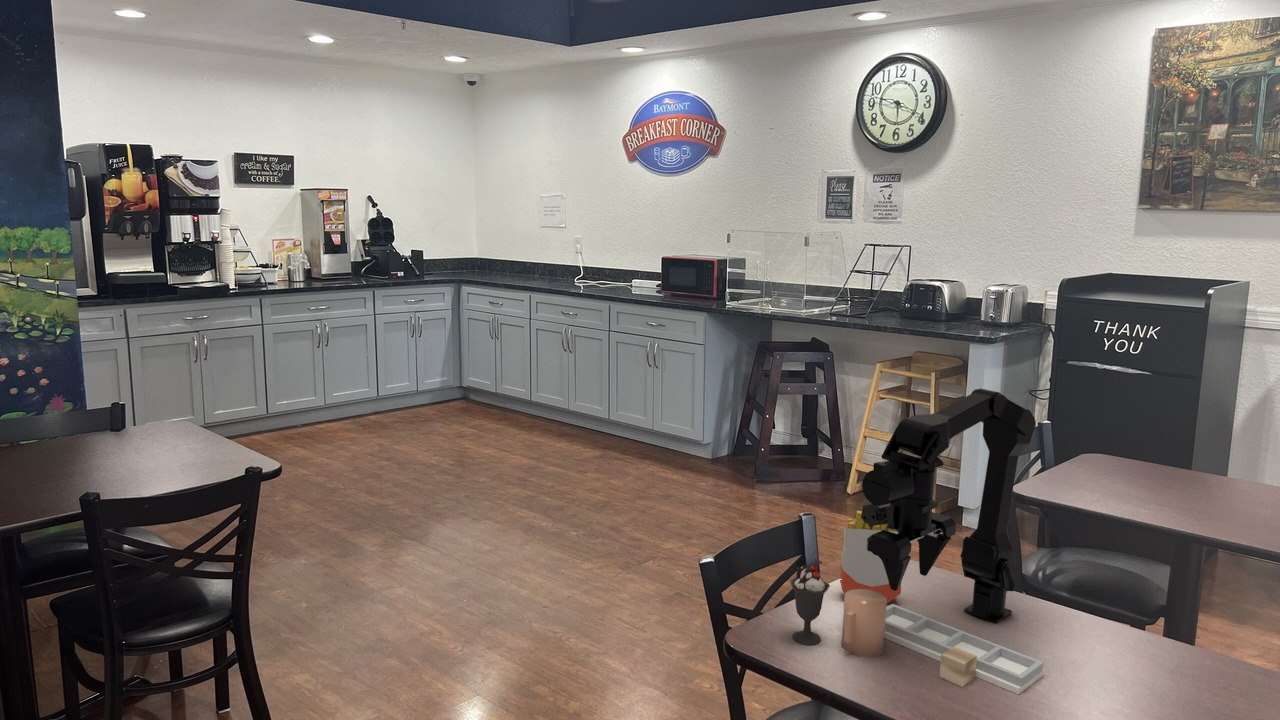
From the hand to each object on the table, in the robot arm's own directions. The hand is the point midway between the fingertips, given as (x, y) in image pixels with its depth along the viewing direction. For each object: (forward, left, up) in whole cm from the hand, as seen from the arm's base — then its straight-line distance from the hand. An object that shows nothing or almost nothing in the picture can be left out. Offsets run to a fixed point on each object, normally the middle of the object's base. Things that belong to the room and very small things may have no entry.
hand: (908, 582), depth 155 cm
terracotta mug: (+5, -5, -12) cm, 14 cm away
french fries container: (-12, -15, -12) cm, 23 cm away
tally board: (-5, +6, -12) cm, 14 cm away
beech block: (+2, +11, -12) cm, 16 cm away
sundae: (+10, -13, -12) cm, 20 cm away
